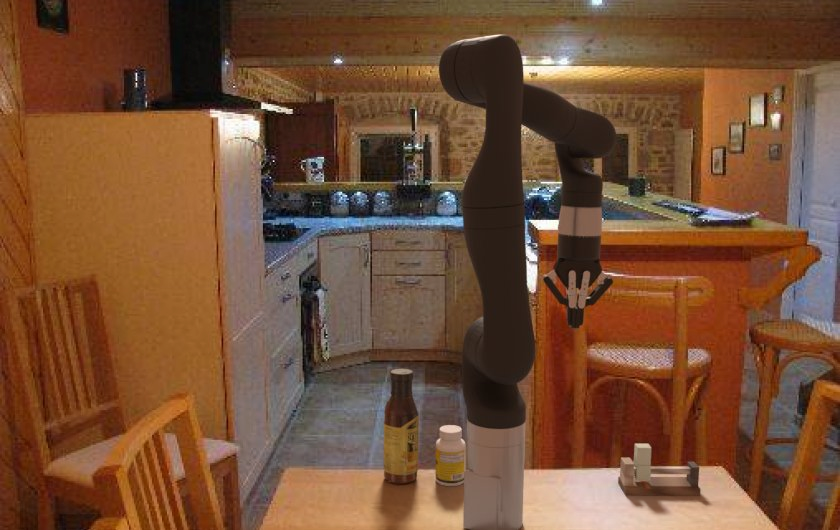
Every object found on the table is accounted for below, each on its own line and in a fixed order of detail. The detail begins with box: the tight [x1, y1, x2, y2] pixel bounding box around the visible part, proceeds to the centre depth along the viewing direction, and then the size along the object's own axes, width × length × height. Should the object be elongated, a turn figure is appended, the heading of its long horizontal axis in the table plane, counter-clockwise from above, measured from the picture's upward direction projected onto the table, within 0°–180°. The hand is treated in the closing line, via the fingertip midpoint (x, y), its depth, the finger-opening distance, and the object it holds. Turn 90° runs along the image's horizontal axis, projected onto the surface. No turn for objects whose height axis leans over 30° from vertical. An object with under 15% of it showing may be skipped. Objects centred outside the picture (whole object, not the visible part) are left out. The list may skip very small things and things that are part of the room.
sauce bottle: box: [383, 368, 420, 485], centre depth 146 cm, size 6×6×20 cm
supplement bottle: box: [435, 424, 466, 487], centre depth 146 cm, size 5×5×10 cm
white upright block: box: [632, 443, 652, 480], centre depth 143 cm, size 2×3×6 cm
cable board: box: [617, 457, 701, 496], centre depth 144 cm, size 13×5×5 cm, turn 90°
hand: (574, 327), depth 147 cm, fingers closed
